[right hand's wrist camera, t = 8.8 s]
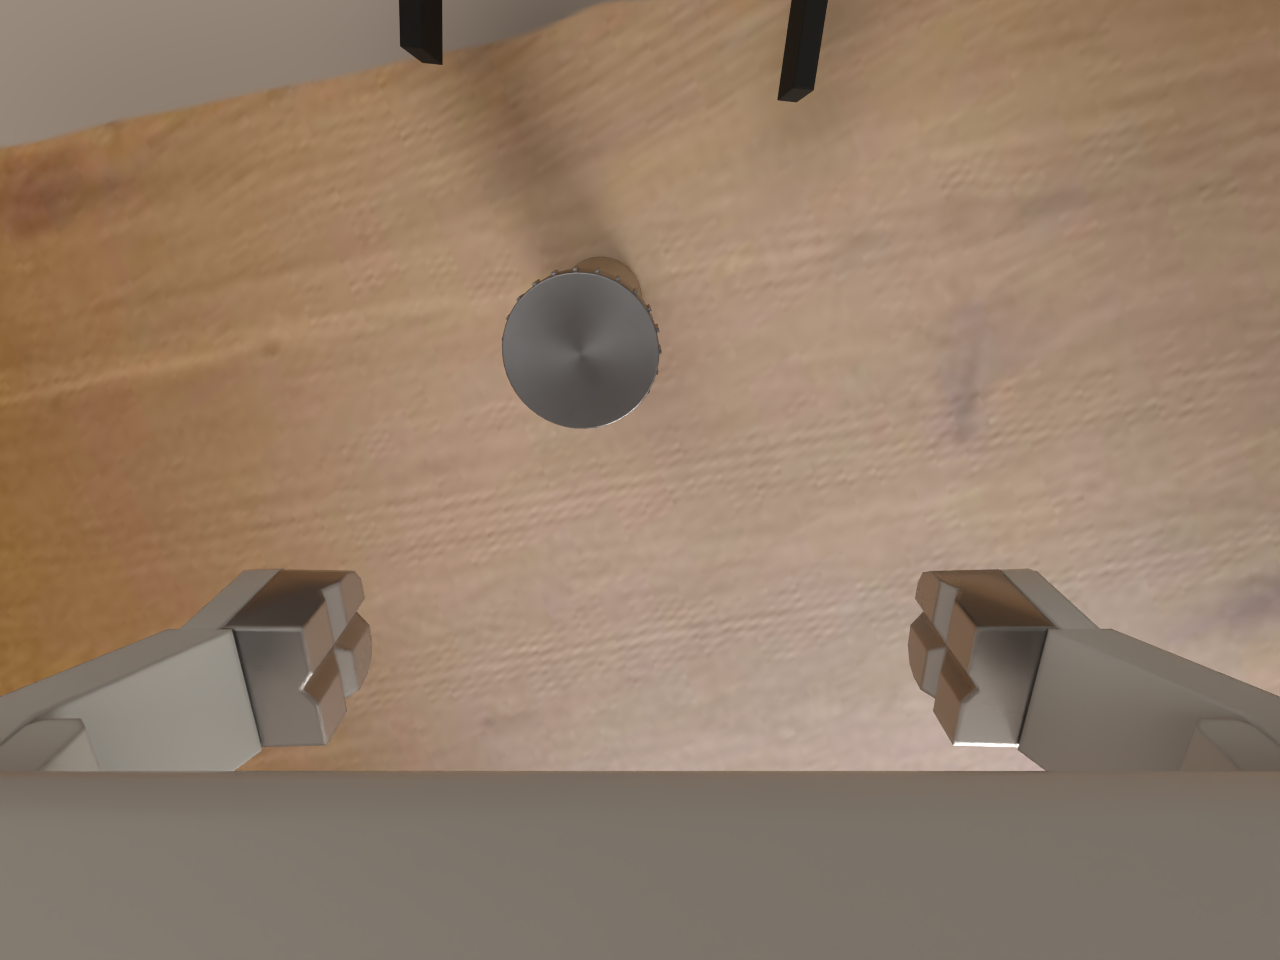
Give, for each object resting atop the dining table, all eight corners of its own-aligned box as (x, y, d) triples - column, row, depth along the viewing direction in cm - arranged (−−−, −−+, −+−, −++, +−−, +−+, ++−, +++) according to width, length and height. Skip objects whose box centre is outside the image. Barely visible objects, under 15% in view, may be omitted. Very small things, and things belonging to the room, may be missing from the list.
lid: (602, 445, 23) (601, 460, 22) (479, 361, 22) (468, 371, 21) (690, 327, 22) (694, 335, 20) (563, 232, 21) (558, 233, 19)
